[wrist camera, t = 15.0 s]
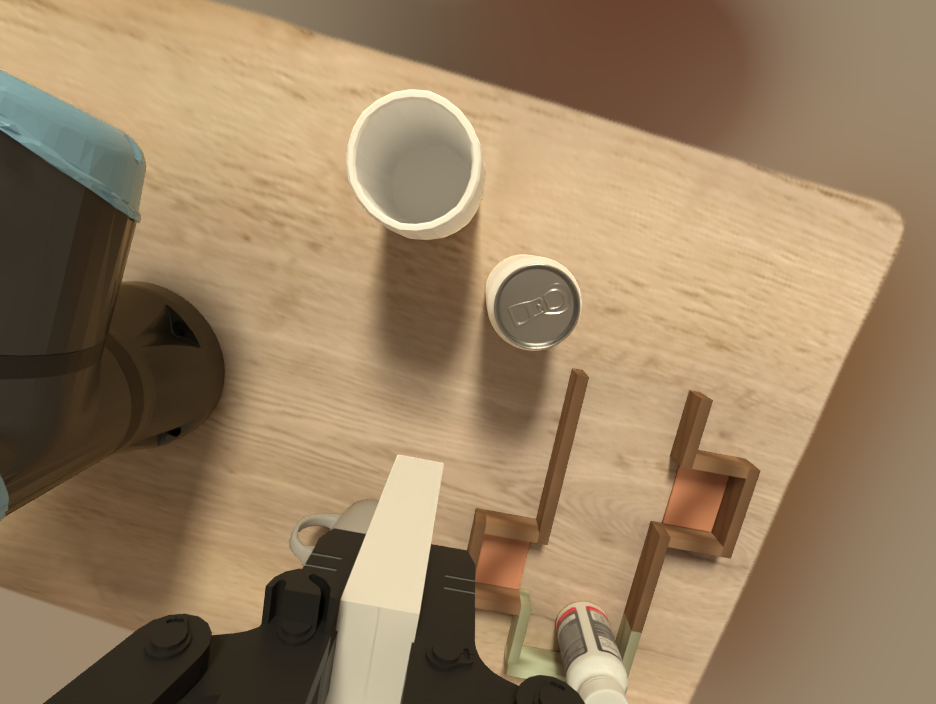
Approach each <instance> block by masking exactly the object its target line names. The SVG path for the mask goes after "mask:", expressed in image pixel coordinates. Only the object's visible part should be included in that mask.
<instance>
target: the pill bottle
mask: <svg viewBox="0 0 936 704" xmlns="http://www.w3.org/2000/svg"><path fill="white" fill-rule="evenodd" d="M556 631H557V637H558V642H559V647H560V652H561V657H562V661H563V666H564V671H565V676H566V681H567V684H568V685H570V686H571V687H572V688H573V689H574V690H575V691H577V692H578V693H579V695H580V696H581V698H582V699H583V701H584V702H585V704H628V701H627V698H626V695H625V690H626V687H627V673H626V669H625V666H624V664H623V661H622V658H621V656H620V653H619V650H618V647H617V644H616V641H615V638H614V635H613V633H612V630H611V627H610V624H609V622H608V619H607V616H606V614H605V613H604V611H603V610H602V609H601V608H599V607H598V606H597V605H595V604H592V603H589V602H576V603H573V604H570V605H568V606H567V607H565V608H564V609H563V610H562V611H561V612H560V614H559V615H558V617H557V620H556Z"/></svg>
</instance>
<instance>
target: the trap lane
mask: <svg viewBox="0 0 936 704" xmlns="http://www.w3.org/2000/svg"><path fill="white" fill-rule="evenodd" d="M588 379H589V377H588V376H587V375H586V373H585V372H584V371H583V370H578V369H573V368H572V371H571V376H570V380H569V384H568V388H567V392H566V397H565V401H564V405H563V409H562V413H561V417H560V422H559V426H558V430H557V434H556V438H555V442H554V447H553V451H552V455H551V459H550V463H549V468H548V472H547V476H546V480H545V484H544V488H543V493H542V497H541V501H540V505H539V509H538V514H537V518H536V519H533V518H527V517H522V516H516V515H511V514H505V513H500V512H494V511H489V510H483V509H478V508H476V511H475V515H474V520H473V525H472V530H471V535H470V539H469V544H468V549H467V551H468V552H469V554H470V556H471V558H472V559H473V561H474V563H475V565H476V567H475V608H479V609H485V610H490V611H496V612H501V613H507V614H513V618H512V622H511V626H510V631H509V635H508V639H507V643H506V647H505V664H506V675H507V676H513V677H519V678H524V679H527V678H528V677H532V676H536V675H546V676H553V677H555V678H557V679H559V680H561V681H564V682H566V683H567V681H566V676H565V671H564V666H563V661H562V657H561V652H556V651H550V650H544V649H539V648H533V647H527V646H523V642H524V638H525V634H526V629H527V625H528V621H529V617H530V613H531V609H532V608H531V601H530V594H529V591H526V590H521V589H519V587H520V582H521V578H522V574H523V570H524V566H525V561H526V557H527V553H528V549H529V545H530V542H533V543H539V544H545V545H548V541H549V537H550V533H551V529H552V525H553V521H554V516H555V512H556V508H557V504H558V500H559V496H560V492H561V488H562V484H563V480H564V476H565V472H566V468H567V464H568V460H569V456H570V452H571V448H572V444H573V440H574V436H575V432H576V428H577V424H578V420H579V416H580V412H581V408H582V403H583V399H584V395H585V391H586V387H587V383H588ZM712 402H713V400H711V399H710V398H708V397H707V396H705V395H703V394H702V393H700V392H696V391H689V394H688V397H687V401H686V404H685V407H684V411H683V414H682V418H681V421H680V424H679V428H678V431H677V435H676V438H675V441H674V445H673V448H672V452H671V456H672V457H673V459H674V460H675V461H676V462H677V463H678V464H679V468H678V472H677V475H676V478H675V482H674V485H673V488H672V492H671V495H670V498H669V502H668V505H667V508H666V512H665V515H664V518H663V521H662V522H663V523H659V522H654V521H651V523H650V526H649V530H648V533H647V536H646V540H645V543H644V547H643V550H642V553H641V557H640V560H639V564H638V567H637V570H636V574H635V577H634V581H633V584H632V587H631V591H630V594H629V597H628V601H627V604H626V608H625V611H624V614H623V618H622V621H621V625H620V628H619V631H618V635H617V638H616V644H617V647H618V650H619V653H620V656H621V658H622V661H623V664H624V666H625V669H626V673H627V679H628V676H629V672H630V669H631V666H632V663H633V659H634V656H635V653H636V650H637V646H638V643H639V640H640V637H641V633H642V630H643V627H644V624H645V620H646V617H647V614H648V611H649V607H650V604H651V601H652V597H653V594H654V591H655V588H656V584H657V581H658V578H659V575H660V571H661V568H662V565H663V562H664V558H665V555H666V552H667V549H668V547H670V548H676V549H681V550H687V551H692V552H698V553H703V554H709V555H714V556H720V557H725V558H731V556H732V553H733V550H734V547H735V544H736V541H737V539H738V536H739V533H740V530H741V527H742V524H743V521H744V518H745V515H746V512H747V509H748V506H749V503H750V500H751V497H752V494H753V491H754V488H755V485H756V482H757V480H758V477H759V474H760V470H759V469H758V468H756V467H755V466H754V465H753V464H751V463H750V462H749V461H748V460H746V459H744V458H738V457H733V456H727V455H722V454H717V453H711V452H706V451H700V450H698V448H699V444H700V441H701V438H702V434H703V431H704V428H705V425H706V421H707V418H708V415H709V412H710V408H711V405H712ZM626 692H627V687H626V690H625V695H626Z"/></svg>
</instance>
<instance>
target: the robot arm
mask: <svg viewBox="0 0 936 704" xmlns="http://www.w3.org/2000/svg"><path fill="white" fill-rule="evenodd" d="M145 172H146V162H145V158H144V155H143V152H142V150H141V149H140V147H139V146H138V144H137V143H136V142H135V141H134V140H133V139H132V138H131V137H130V136H129V135H128V134H126V133H125V132H123V131H122V130H120V129H118V128H116V127H114V126H112V125H111V124H109V123H107V122H105V121H103V120H101V119H99V118H97V117H95V116H93V115H91V114H89V113H87V112H85V111H83V110H81V109H79V108H77V107H75V106H73V105H71V104H69V103H67V102H65V101H63V100H61V99H59V98H57V97H55V96H53V95H51V94H49V93H47V92H45V91H43V90H41V89H39V88H36V87H34V86H32V85H30V84H28V83H26V82H24V81H22V80H20V79H18V78H16V77H14V76H12V75H10V74H8V73H6V72H4V71H2V70H0V520H2V519H3V517H5V516H7V515H8V514H10V513H12V512H13V511H15V510H17V509H18V508H20V507H22V506H24V505H25V504H27V503H29V502H30V501H32V500H34V499H36V498H37V497H39V496H41V495H42V494H44V493H46V492H48V491H49V490H51V489H53V488H54V487H56V486H58V485H60V484H61V483H63V482H65V481H66V480H68V479H70V478H72V477H73V476H75V475H77V474H78V473H80V472H82V471H83V470H85V469H87V468H89V467H90V466H92V465H94V464H95V463H97V462H99V461H101V460H102V459H104V458H106V457H107V456H109V455H111V454H113V453H120V452H127V451H133V450H140V449H147V448H154V447H159V446H162V445H165V444H168V443H170V442H173V441H175V440H177V439H179V438H181V437H182V436H184V435H186V434H187V433H189V432H190V431H192V430H194V429H195V428H196V427H198V426H199V425H200V424H202V423H203V422H204V421H205V420H206V419H207V418H208V416H209V415H210V414H211V413H212V411H213V410H214V408H215V406H216V404H217V402H218V400H219V398H220V395H221V392H222V388H223V382H224V363H223V357H222V352H221V349H220V346H219V343H218V340H217V338H216V336H215V334H214V332H213V330H212V329H211V327H210V325H209V324H208V322H207V321H206V320H205V318H204V317H203V316H202V315H201V314H200V313H199V311H198V310H197V309H196V308H195V307H193V306H192V305H191V304H190V303H189V302H188V301H186V300H185V299H183V298H182V297H180V296H179V295H177V294H175V293H174V292H172V291H170V290H168V289H165V288H163V287H160V286H157V285H154V284H149V283H144V282H122V278H123V274H124V270H125V266H126V262H127V258H128V254H129V250H130V247H131V243H132V239H133V235H134V231H135V227H136V223H137V222H138V223H140V220H141V215H140V213H139V211H138V210H139V204H140V199H141V194H142V188H143V183H144V178H145ZM443 466H444V463H441V462H436V461H431V460H425V459H420V458H414V457H409V456H403V455H398V454H397V457H396V460H395V462H394V465H393V467H392V470H391V472H390V475H389V477H388V480H387V483H386V485H385V488H384V490H383V493H382V495H381V498H380V500H379V503H378V505H377V508H376V511H375V513H374V516H373V518H372V521H371V523H370V526H369V528H368V531H367V533H366V534H364V533H358V532H353V531H347V530H341V529H336V528H333V529H332V530H330V531H329V532H327V533H326V534H325V535H323V536H322V537H320V538H319V540H318V542H317V543H316V545H315V547H314V549H313V551H312V554H311V555H310V556H309V558H308V560H307V562H306V564H305V566H304V567H303V569H296V570H291V571H286V572H284V573H282V574H280V575H278V576H276V577H274V578H273V579H272V580H271V581H270V582H269V583H268V584H267V585H266V589H265V598H264V607H263V616H262V624H261V626H260V627H258V628H255V629H252V630H249V631H245V632H240V633H233V634H222V635H212V632H211V630H210V627H209V625H208V623H207V622H205V621H204V620H203V619H201V618H200V617H198V616H193V615H188V614H176V615H168V616H165V617H162V618H159V619H155V620H153V621H151V622H149V623H148V624H146V625H144V626H143V627H141V628H139V629H138V630H137V631H135V632H134V633H133V634H131V635H130V636H129V637H128V638H126V639H125V640H124V641H123V642H121V643H120V644H119V645H117V646H116V647H115V648H114V649H113V650H111V651H110V652H108V653H107V654H106V655H105V656H103V657H102V658H101V659H100V660H98V661H97V662H96V663H94V664H93V665H92V666H91V667H89V668H88V669H87V670H86V671H84V672H83V673H82V674H80V675H79V676H78V677H76V678H75V679H74V680H73V681H71V682H70V683H69V684H68V685H66V686H65V687H64V688H62V689H61V690H60V691H59V692H57V693H56V694H55V695H53V696H52V697H51V698H50V699H48V700H47V701H46V702H45V703H43V704H585V702H584V701H583V699H582V698H581V696H580V695H579V693H578V692H577V691H575V690H574V689H573V688H572V687H571V686H570V685H568V684H567V683H566V682H564V681H561V680H559V679H557V678H555V677H553V676H546V675H536V676H532V677H528V678H527V679H526V680H525V681H524V682H522V683H521V684H520V686H518V685H516V684H514V683H511V682H509V681H507V680H505V679H503V678H502V677H500V676H498V675H497V674H495V673H493V672H492V671H491V670H490V669H489V668H488V667H487V666H486V665H485V664H484V663H483V661H482V660H481V659H480V657H479V655H478V653H477V650H476V646H475V567H476V565H475V563H474V561H473V559H472V558H471V556H470V554H469V552H468V551H466V550H461V549H455V548H449V547H444V546H438V545H433V544H431V540H432V534H433V528H434V521H435V515H436V509H437V503H438V497H439V490H440V484H441V478H442V472H443Z"/></svg>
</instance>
